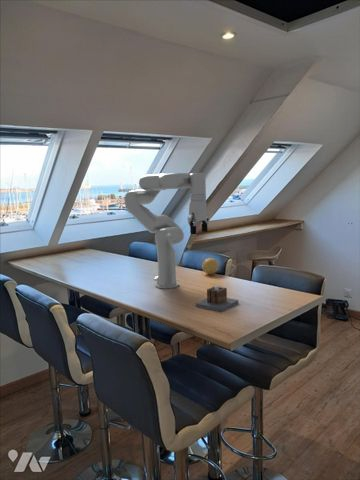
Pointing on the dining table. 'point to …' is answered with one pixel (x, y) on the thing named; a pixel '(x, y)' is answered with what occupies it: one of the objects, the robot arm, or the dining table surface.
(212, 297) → the wooden block stack
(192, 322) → the dining table surface
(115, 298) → the dining table surface
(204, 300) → the stand
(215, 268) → the stress ball
